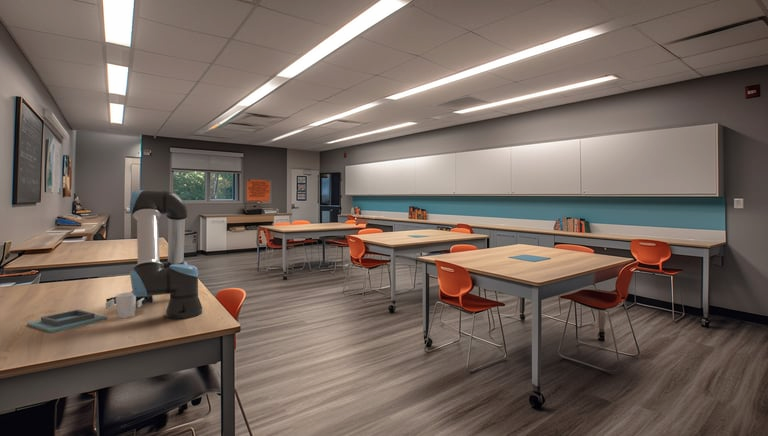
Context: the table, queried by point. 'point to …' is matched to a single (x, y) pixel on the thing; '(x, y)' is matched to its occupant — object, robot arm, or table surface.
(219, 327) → the table surface
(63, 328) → the glass holder
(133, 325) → the table surface
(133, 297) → the white cup
